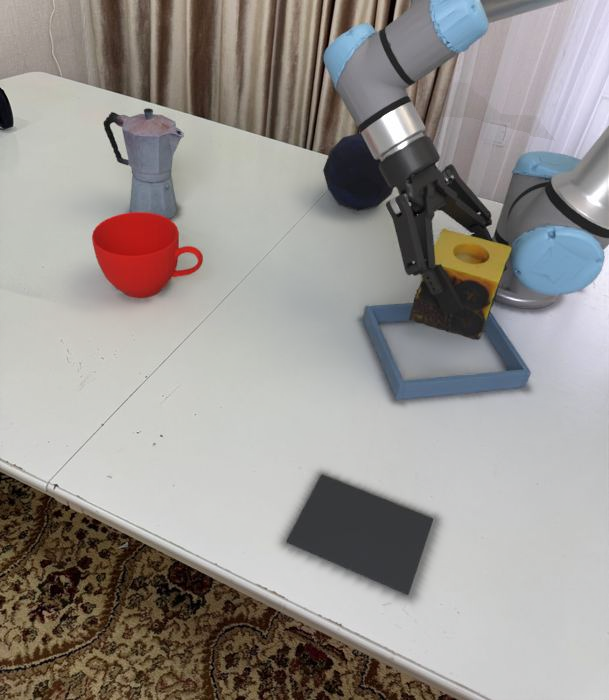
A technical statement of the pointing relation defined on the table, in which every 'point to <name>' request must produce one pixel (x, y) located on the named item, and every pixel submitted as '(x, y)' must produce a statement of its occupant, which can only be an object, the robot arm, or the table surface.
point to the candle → (463, 283)
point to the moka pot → (148, 159)
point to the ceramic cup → (140, 252)
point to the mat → (362, 533)
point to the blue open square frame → (448, 384)
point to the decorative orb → (355, 174)
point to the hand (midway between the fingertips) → (477, 291)
